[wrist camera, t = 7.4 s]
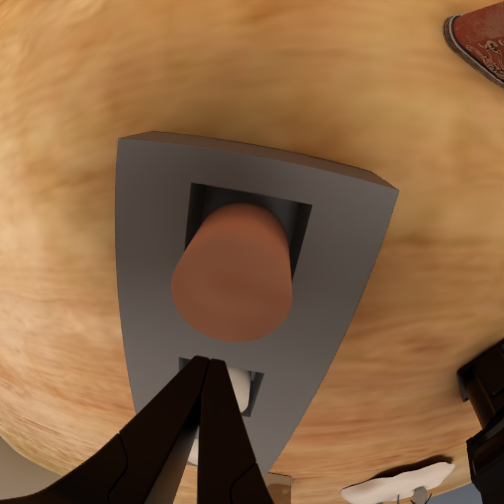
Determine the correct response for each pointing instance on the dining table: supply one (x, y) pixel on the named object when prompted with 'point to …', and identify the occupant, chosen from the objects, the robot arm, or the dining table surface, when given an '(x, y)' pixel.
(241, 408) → the button
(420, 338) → the dining table surface
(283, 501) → the skincare box
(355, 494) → the figurine
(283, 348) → the button panel
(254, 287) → the terracotta button
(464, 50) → the lighter
